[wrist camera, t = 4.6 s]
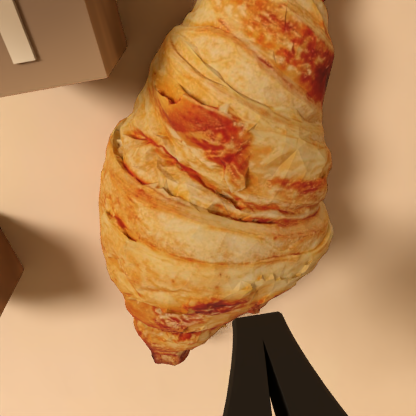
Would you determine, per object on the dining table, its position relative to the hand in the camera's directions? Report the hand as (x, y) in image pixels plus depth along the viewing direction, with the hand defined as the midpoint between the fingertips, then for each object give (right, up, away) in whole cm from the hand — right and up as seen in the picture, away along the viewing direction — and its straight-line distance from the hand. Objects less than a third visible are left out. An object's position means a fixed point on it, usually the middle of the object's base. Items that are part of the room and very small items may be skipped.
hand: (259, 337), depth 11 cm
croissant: (-1, +5, +8) cm, 9 cm away
